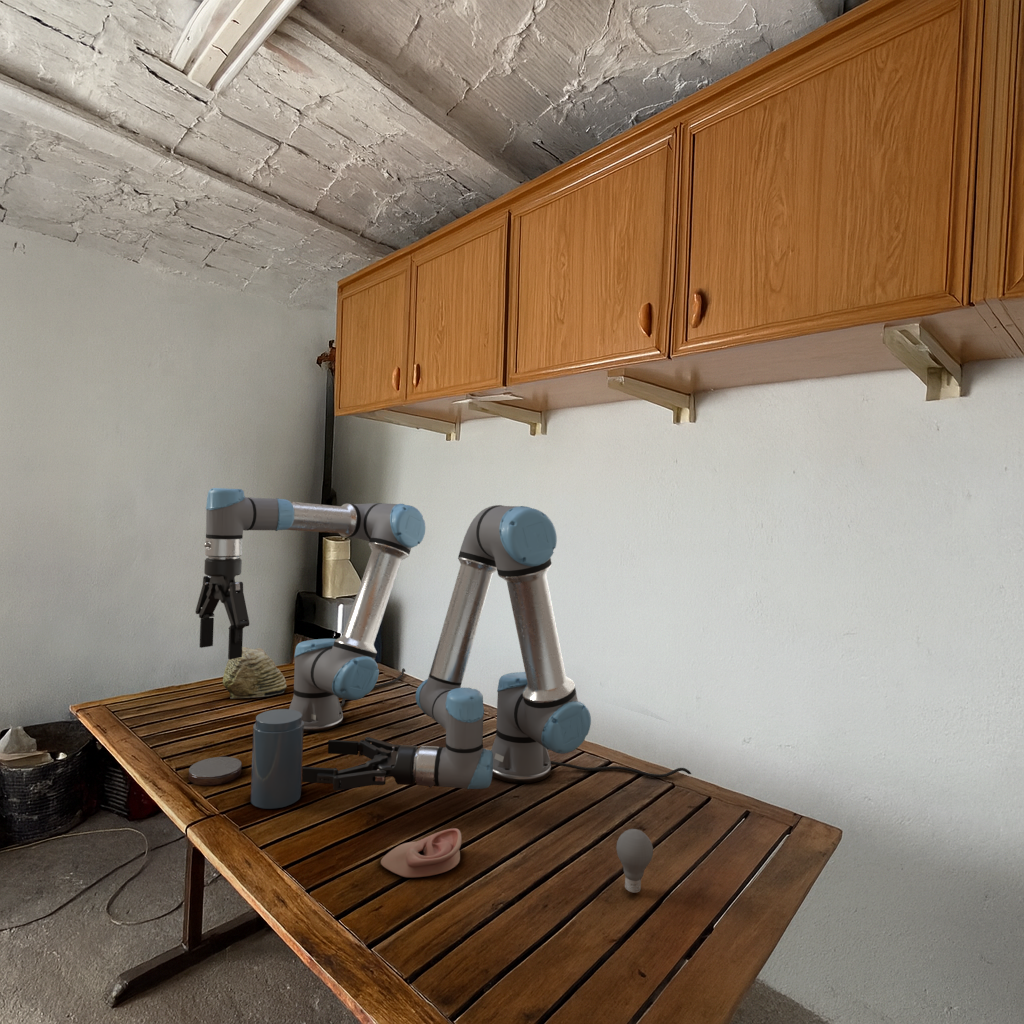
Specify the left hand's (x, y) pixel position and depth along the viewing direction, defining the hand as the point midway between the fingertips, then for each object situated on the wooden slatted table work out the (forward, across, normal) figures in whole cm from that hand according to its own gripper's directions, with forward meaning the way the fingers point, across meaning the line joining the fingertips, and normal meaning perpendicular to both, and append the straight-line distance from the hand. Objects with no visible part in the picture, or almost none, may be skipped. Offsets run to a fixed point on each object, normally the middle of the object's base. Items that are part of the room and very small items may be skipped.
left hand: (220, 652), depth 141 cm
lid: (+26, 0, 0) cm, 26 cm away
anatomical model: (+28, +58, +9) cm, 65 cm away
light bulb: (+28, +90, +28) cm, 98 cm away
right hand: (+19, +26, +8) cm, 33 cm away
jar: (+28, +19, +4) cm, 34 cm away
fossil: (+28, -47, +34) cm, 64 cm away
